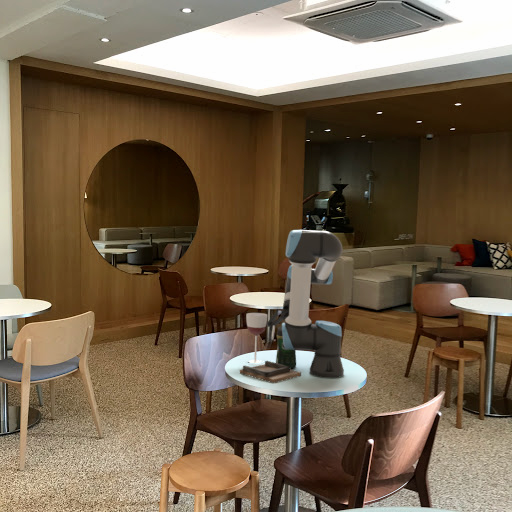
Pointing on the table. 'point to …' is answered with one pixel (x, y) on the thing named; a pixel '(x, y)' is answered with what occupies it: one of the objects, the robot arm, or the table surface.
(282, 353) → the coffee jar
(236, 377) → the table surface
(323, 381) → the table surface
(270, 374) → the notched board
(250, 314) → the wineglass
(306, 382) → the table surface
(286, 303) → the robot arm
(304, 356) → the table surface
